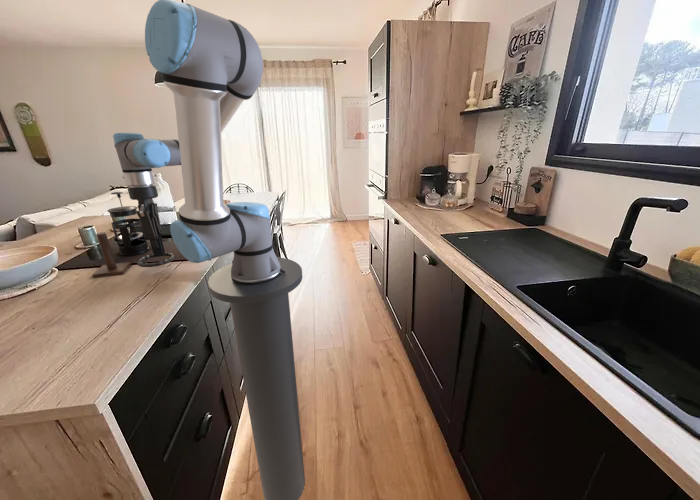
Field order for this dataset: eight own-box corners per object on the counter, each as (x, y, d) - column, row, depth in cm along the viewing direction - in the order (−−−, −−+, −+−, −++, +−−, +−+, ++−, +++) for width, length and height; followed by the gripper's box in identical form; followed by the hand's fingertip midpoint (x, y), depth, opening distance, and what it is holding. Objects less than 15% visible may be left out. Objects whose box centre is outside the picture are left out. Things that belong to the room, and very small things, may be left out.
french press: (124, 248, 115) (107, 190, 106) (152, 245, 118) (137, 189, 110) (115, 258, 104) (94, 195, 96) (145, 255, 108) (128, 194, 100)
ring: (177, 253, 101) (176, 250, 100) (171, 265, 92) (170, 261, 91) (142, 257, 97) (141, 254, 97) (133, 269, 88) (132, 266, 88)
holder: (131, 264, 100) (120, 228, 95) (123, 273, 93) (110, 235, 88) (103, 267, 97) (91, 231, 93) (92, 277, 90) (78, 238, 86)
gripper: (135, 183, 95) (153, 249, 104) (118, 189, 83) (140, 264, 91) (161, 182, 98) (176, 247, 106) (148, 188, 85) (167, 261, 93)
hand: (159, 255), depth 98 cm, fingers closed on ring, 1 cm apart
